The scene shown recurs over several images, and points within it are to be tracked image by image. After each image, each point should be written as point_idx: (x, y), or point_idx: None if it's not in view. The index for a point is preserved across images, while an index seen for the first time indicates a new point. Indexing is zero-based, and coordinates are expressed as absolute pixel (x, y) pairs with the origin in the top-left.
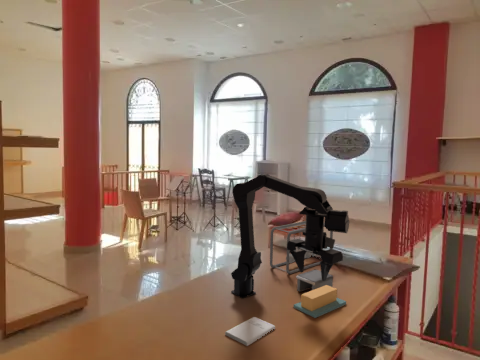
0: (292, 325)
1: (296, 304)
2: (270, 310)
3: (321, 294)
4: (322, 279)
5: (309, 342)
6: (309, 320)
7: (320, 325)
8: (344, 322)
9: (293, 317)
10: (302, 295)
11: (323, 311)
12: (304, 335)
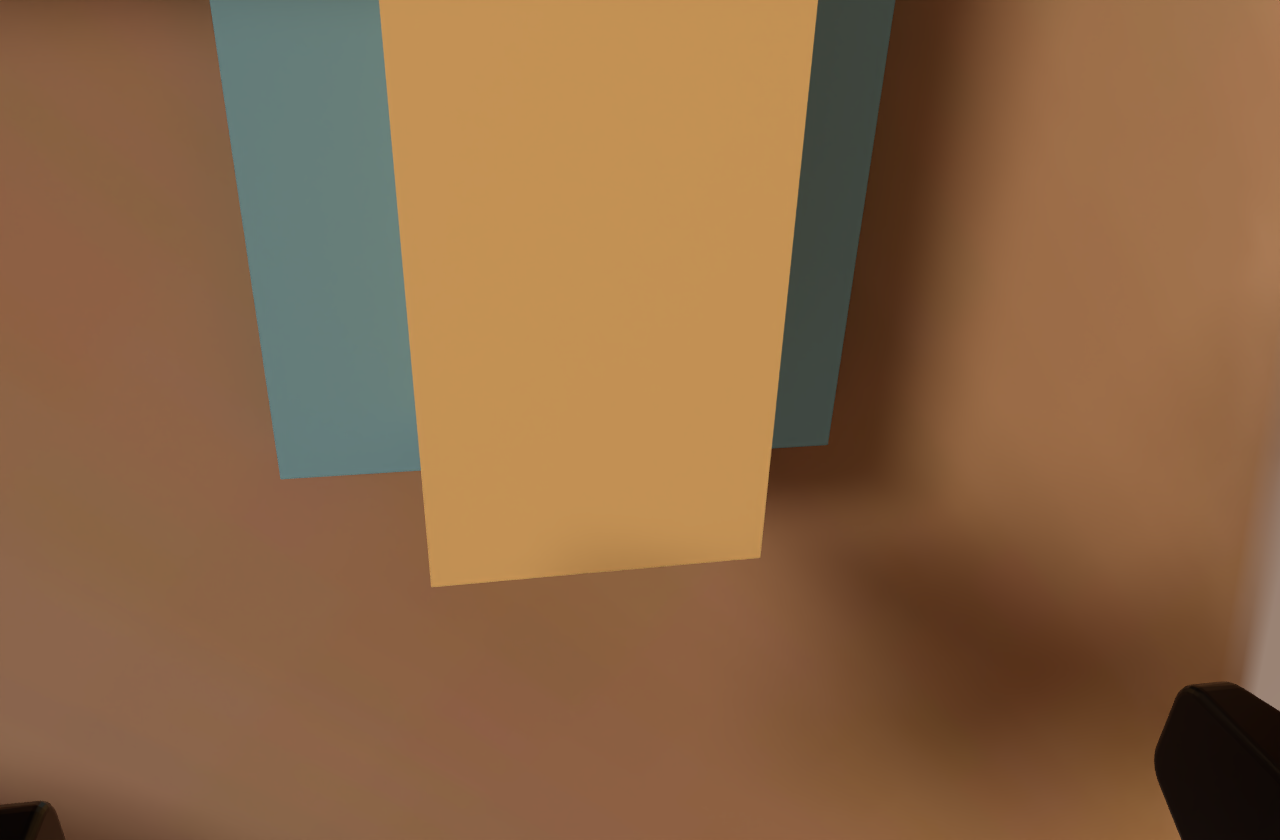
0: (711, 762)
1: (306, 433)
2: (166, 767)
3: (762, 204)
4: (1199, 834)
5: (1074, 812)
6: (790, 524)
7: (993, 499)
8: (1268, 130)
9: (563, 641)
10: (467, 576)
11: (860, 228)
12: (960, 779)
